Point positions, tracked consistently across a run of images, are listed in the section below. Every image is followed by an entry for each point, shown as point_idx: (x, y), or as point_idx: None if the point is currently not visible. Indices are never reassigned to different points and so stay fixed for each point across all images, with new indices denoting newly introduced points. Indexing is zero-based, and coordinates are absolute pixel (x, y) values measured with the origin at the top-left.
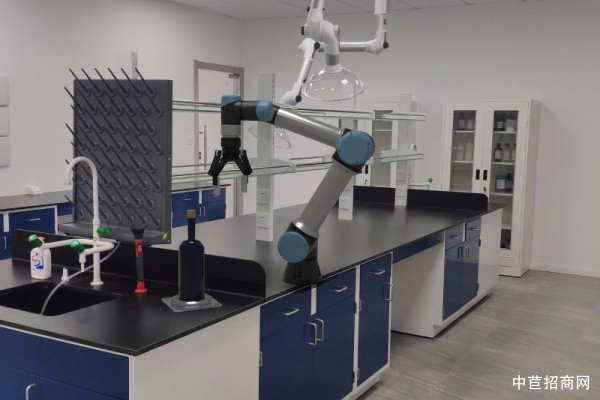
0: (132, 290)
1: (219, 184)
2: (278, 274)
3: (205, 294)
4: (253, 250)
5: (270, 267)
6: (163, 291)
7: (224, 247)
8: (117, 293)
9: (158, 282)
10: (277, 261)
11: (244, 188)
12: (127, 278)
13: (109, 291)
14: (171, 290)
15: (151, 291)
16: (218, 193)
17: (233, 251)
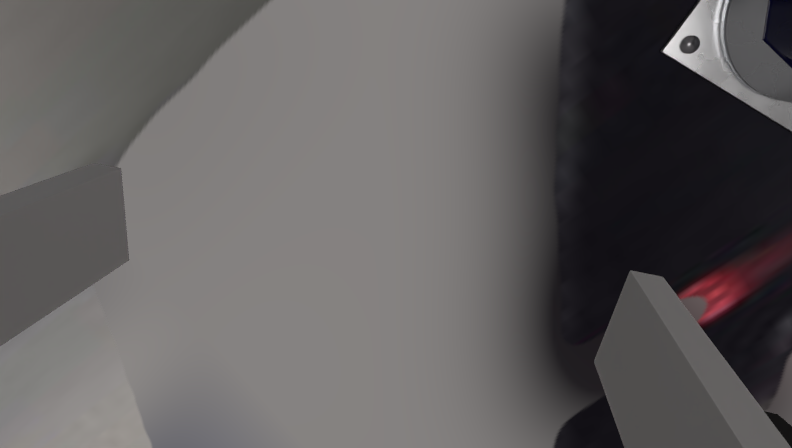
0: (719, 322)
1: (716, 386)
2: (192, 32)
3: (734, 4)
4: (6, 343)
5: (132, 137)
6: (682, 229)
7: (55, 434)
8: (781, 336)
9: (572, 322)
10: (46, 177)
11: (77, 216)
12: (578, 427)
13: (767, 371)
14: (654, 215)
15: (702, 263)
16: (670, 289)
17: (69, 384)
